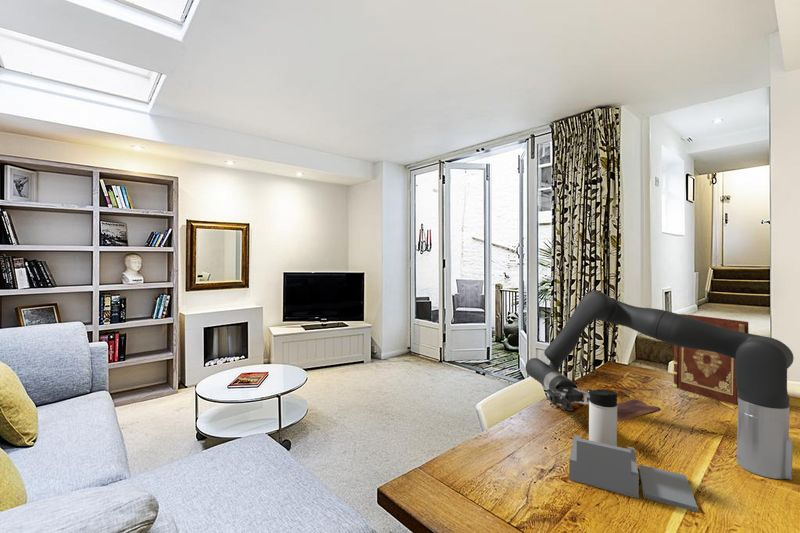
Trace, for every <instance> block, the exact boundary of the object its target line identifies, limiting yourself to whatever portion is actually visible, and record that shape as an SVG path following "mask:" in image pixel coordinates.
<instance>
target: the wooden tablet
mask: <svg viewBox="0 0 800 533" xmlns="http://www.w3.org/2000/svg"><path fill="white" fill-rule="evenodd" d="M660 410H661V408H660V407H658V406H654V405H648V404H647V403H646V402H644V401H642V400H640V399H635V398H633V399H629V400H625V401H621V402H617V423H618V422H624V421H628V420H631V419H633V418H637V417H639V416H644V415H647V414H651V413H654V412H655V413H656V412H658V411H660Z"/></svg>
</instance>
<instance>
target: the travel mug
mask: <svg viewBox="0 0 800 533" xmlns="http://www.w3.org/2000/svg"><path fill="white" fill-rule="evenodd" d="M617 403H618V392H616V391H614V390H611V389H610V390H609V389H603V388H602V389H601V388H597V389H594V390H593V389H590V398H589V404H588V440H590V441H594V442H599V443H603V444H608V445H612V446H617V447H618V422H617Z"/></svg>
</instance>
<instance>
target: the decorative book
mask: <svg viewBox="0 0 800 533" xmlns="http://www.w3.org/2000/svg"><path fill="white" fill-rule="evenodd" d="M679 314H680V315H684V316H687V317H690V318H693V319H697V320H700V321H703V322H706V323H709V324H712V325H715V326H718V327H722V328H725V329H729V330H734V331H739V332H744V333H749V331H750V330H749V321H744V320H737V319H728V318H720V317H713V316H712V317H710V316H705V315H704V316H703V315H702V316H701V315H695V314H688V313H679ZM749 334H750V333H749ZM672 364H673V369H672V374H673V382H672V387H673V388H676V389H680V390H683V391H686V392H690V393H693V394H696V395H701V396H703V397H707V398H711V399H714V400H717V401H721V402H724V403H728V404H732V405H734V406H735V405H736V406H738V390H737V387H736V377H735V359H734V358H731V357H729V356H726V355H723V354H719V353H716V352H711V351H704V350H697V349H691V348H685V347H680V346H676V345H673V359H672Z"/></svg>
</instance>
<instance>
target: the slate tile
mask: <svg viewBox="0 0 800 533" xmlns="http://www.w3.org/2000/svg"><path fill="white" fill-rule="evenodd" d="M638 470H639V471H638V473H639V477H640V478H639V479H640V482H641V483H640V484H641V490H642V497H643V498H644V499H647V500H650V501H651V500H652V501H655V502H659V503H662V504H665V505H669V506H673V507H677V508H681V509H684V510H688V511H691V512H695V513H699V512H698V510H699V509H698V508H699V507H698V505H697V501H696V500H695V496H694V494H693V492H692V491H693V490H692V488H691V486H690V482H689V480H688V476H687V475H686V474H681V473H676V472H672V471H669V470H664V469H659V468H656V467H652V466H647V465H643V464H638Z"/></svg>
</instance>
